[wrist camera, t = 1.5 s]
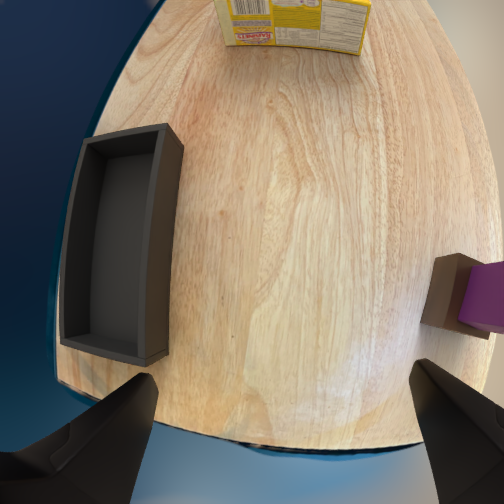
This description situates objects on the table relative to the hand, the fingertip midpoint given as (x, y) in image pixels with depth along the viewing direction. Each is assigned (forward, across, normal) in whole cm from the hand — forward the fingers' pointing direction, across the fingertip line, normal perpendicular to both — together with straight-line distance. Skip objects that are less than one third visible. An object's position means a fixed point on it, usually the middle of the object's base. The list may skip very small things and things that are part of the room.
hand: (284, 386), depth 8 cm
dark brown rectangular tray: (+16, +14, 0) cm, 21 cm away
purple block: (+9, -16, +4) cm, 19 cm away
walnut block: (+13, -16, +6) cm, 21 cm away
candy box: (+27, -4, -21) cm, 34 cm away
